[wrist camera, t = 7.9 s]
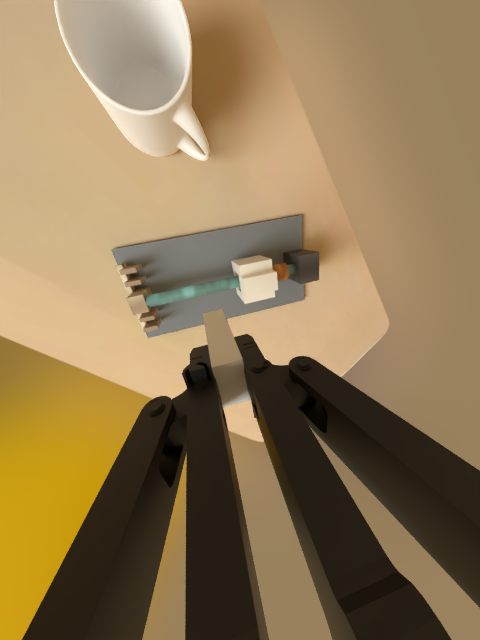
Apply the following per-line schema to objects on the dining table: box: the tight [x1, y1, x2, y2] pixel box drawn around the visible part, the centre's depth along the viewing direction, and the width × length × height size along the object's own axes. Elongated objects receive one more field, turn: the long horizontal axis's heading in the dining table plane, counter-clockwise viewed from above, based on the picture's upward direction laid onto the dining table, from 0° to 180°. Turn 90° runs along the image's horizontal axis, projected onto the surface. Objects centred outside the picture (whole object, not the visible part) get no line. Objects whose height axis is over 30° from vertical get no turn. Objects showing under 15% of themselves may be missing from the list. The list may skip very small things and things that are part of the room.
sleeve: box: [231, 255, 278, 304], centre depth 29 cm, size 5×4×7 cm
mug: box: [54, 0, 210, 161], centre depth 19 cm, size 9×12×11 cm
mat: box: [112, 215, 304, 338], centre depth 32 cm, size 14×28×1 cm, turn 100°
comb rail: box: [116, 249, 319, 332], centre depth 30 cm, size 10×27×6 cm, turn 100°
